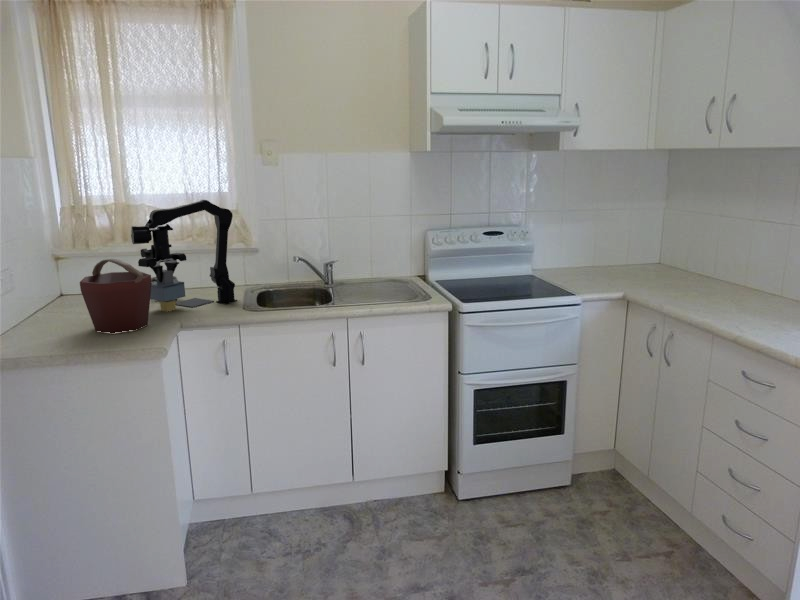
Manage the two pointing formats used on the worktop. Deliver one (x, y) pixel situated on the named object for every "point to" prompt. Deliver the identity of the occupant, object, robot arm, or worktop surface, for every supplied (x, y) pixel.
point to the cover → (167, 288)
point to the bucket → (117, 298)
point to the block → (167, 305)
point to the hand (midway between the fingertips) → (165, 281)
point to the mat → (193, 302)
